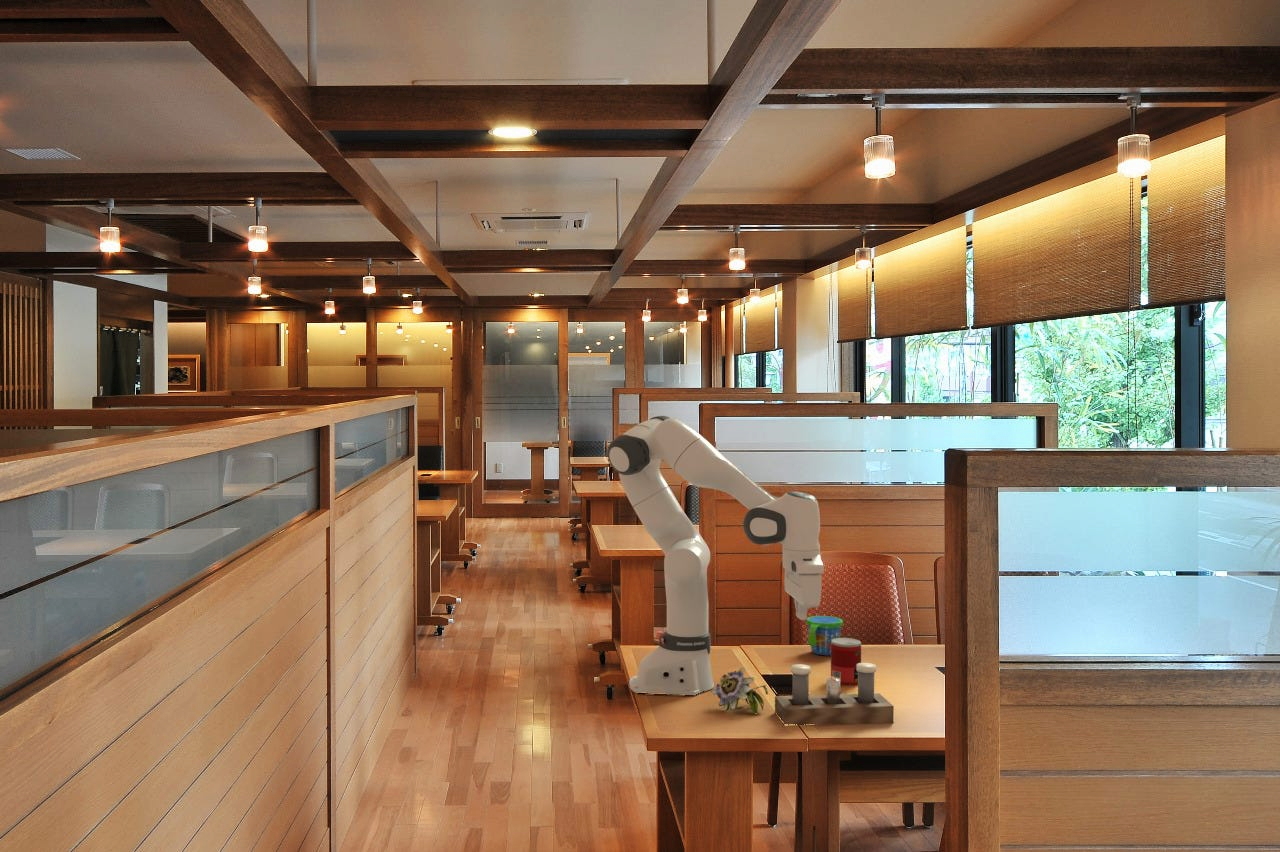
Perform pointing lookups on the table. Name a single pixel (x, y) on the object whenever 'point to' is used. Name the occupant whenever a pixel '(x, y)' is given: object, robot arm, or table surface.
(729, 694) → the passion flower
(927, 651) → the table surface
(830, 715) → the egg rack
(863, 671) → the knob right
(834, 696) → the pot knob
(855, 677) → the canned food
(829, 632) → the snack cup
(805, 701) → the knob left
